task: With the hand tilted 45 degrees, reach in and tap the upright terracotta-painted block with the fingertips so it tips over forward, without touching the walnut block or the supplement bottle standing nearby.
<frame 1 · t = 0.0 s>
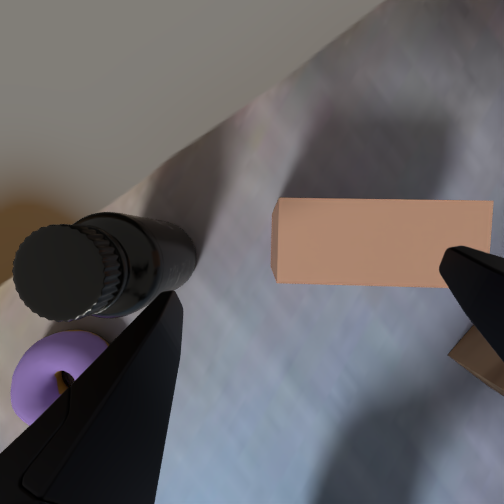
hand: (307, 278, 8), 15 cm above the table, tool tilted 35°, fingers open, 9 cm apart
supplement bottle: (163, 256, 24), on the table
donut: (84, 369, 25), on the table
terracotta block: (334, 241, 23), on the table
walnut block: (485, 350, 23), on the table
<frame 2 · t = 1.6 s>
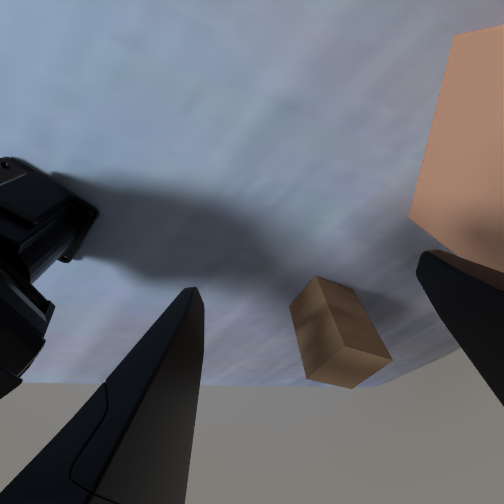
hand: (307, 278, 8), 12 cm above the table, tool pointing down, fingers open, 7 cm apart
terracotta block: (461, 138, 17), on the table
walnut block: (320, 298, 26), on the table
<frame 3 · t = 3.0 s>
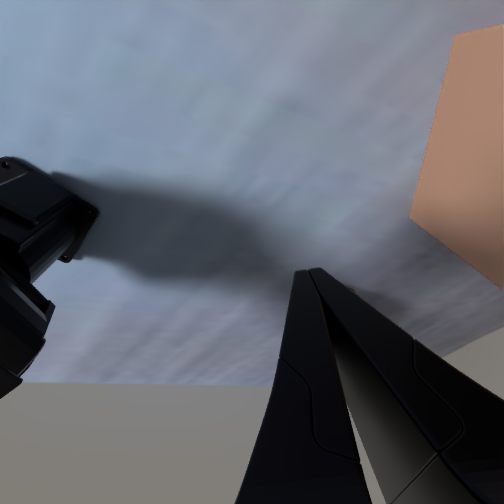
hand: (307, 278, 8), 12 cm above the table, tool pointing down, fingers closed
terracotta block: (461, 137, 17), on the table
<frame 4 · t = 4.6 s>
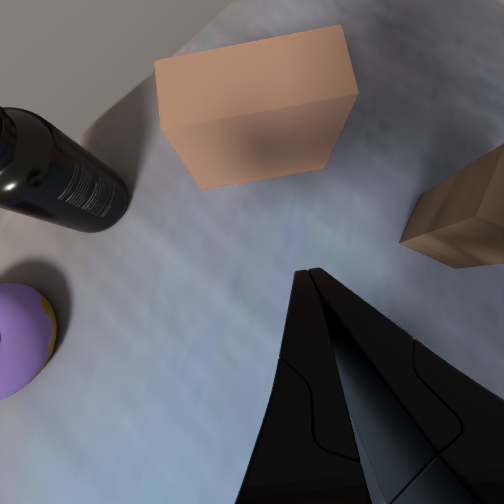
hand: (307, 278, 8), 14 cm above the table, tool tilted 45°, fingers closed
supplement bottle: (99, 202, 24), on the table
donut: (21, 335, 23), on the table
terracotta block: (258, 156, 24), on the table
walnut block: (437, 230, 21), on the table
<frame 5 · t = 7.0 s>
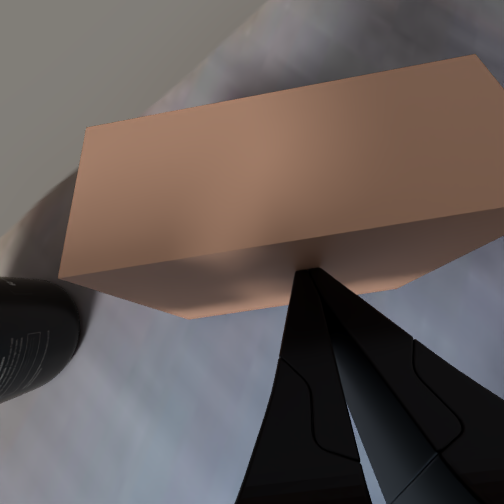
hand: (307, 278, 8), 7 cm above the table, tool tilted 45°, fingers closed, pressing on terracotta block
supplement bottle: (37, 331, 16), on the table
terracotta block: (282, 263, 15), on the table, tilted 12°, touching gripper
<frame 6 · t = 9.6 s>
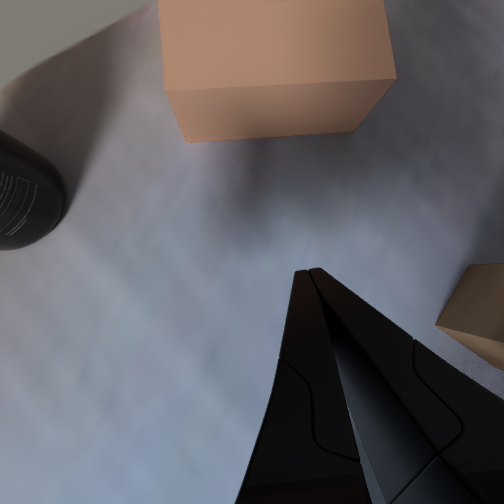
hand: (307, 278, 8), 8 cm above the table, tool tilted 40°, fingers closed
supplement bottle: (17, 200, 16), on the table
terracotta block: (276, 116, 15), point 2 cm above the table, tilted 90°
walnut block: (482, 315, 16), on the table
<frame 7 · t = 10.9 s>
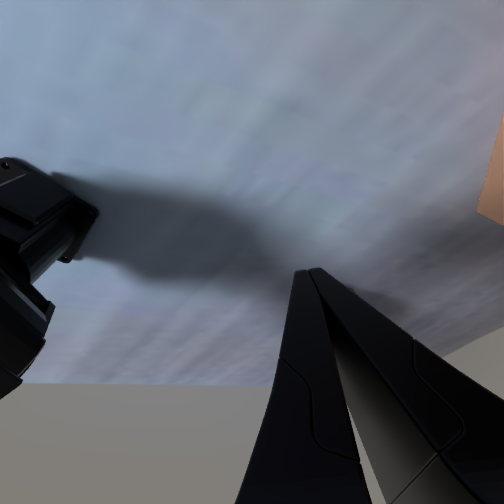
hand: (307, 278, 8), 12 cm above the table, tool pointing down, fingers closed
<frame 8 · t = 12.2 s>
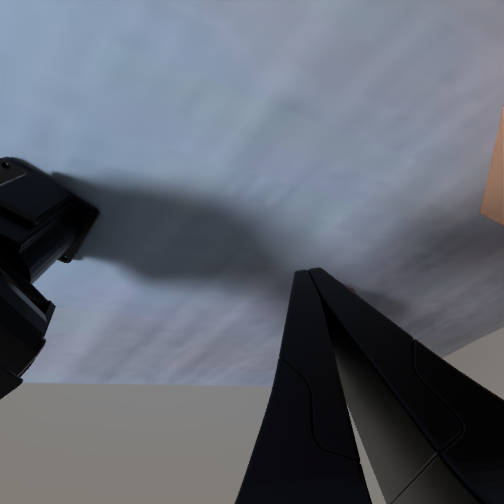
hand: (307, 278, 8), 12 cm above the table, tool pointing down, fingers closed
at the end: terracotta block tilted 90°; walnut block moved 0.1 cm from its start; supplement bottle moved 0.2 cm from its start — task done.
